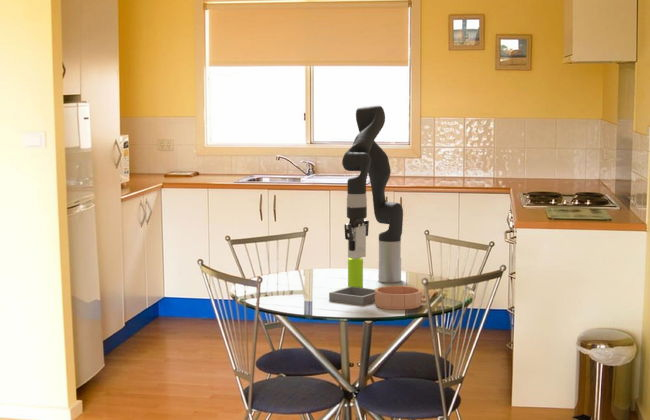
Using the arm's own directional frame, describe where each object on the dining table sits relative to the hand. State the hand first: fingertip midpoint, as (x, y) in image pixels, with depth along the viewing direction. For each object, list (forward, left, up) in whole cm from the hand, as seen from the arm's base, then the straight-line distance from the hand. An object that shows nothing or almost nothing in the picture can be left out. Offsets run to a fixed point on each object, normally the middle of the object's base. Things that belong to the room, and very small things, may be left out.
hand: (356, 249), depth 355 cm
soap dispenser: (-13, -8, -20) cm, 25 cm away
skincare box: (0, 0, -3) cm, 3 cm away
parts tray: (0, 0, -19) cm, 19 cm away
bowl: (0, +18, -19) cm, 26 cm away
